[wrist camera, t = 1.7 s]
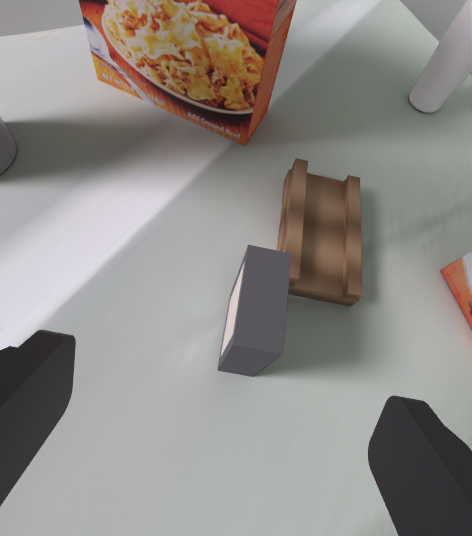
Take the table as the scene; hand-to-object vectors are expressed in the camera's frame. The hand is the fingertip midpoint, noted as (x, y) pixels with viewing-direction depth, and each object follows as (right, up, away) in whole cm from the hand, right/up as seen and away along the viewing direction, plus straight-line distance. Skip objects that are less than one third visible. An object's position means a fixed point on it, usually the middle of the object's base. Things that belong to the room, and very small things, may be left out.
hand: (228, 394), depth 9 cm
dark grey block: (+1, -4, +26) cm, 26 cm away
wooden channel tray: (+10, +7, +32) cm, 35 cm away
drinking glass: (+31, +30, +47) cm, 64 cm away
